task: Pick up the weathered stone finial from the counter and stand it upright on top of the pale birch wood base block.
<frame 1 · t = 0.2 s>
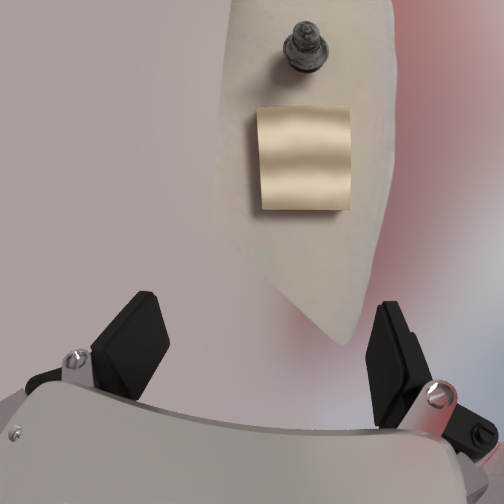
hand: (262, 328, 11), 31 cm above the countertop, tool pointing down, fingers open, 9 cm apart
birch base block: (305, 156, 36), on the countertop
weathered stone finial: (305, 56, 30), on the countertop
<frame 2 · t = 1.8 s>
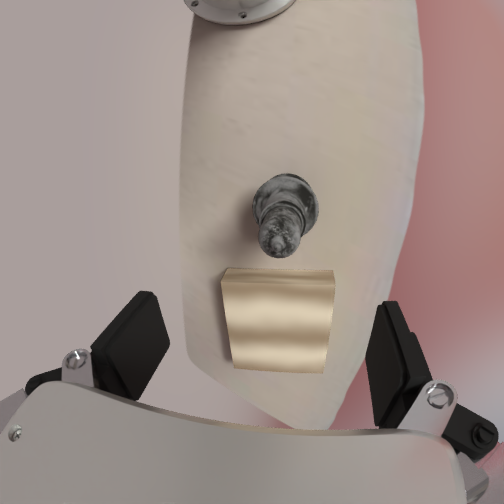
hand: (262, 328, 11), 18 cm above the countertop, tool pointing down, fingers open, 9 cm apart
birch base block: (280, 318, 34), on the countertop
weathered stone finial: (287, 198, 27), on the countertop
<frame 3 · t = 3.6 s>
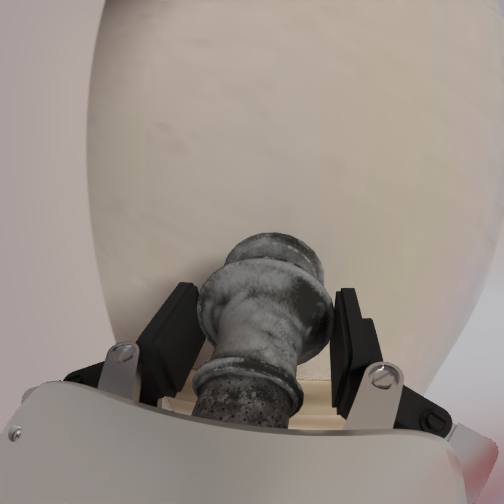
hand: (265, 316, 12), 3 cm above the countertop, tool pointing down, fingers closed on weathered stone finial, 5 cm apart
birch base block: (263, 424, 21), on the countertop
weathered stone finial: (273, 278, 14), on the countertop, touching gripper
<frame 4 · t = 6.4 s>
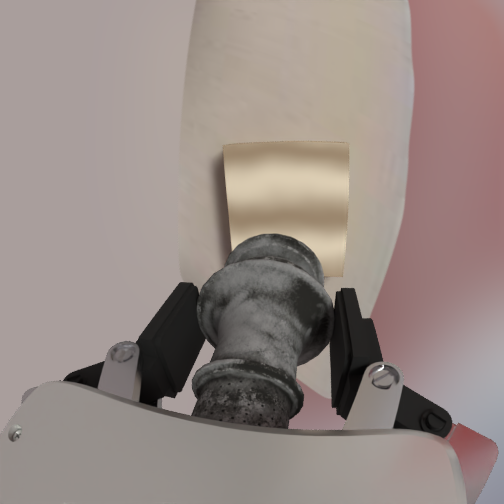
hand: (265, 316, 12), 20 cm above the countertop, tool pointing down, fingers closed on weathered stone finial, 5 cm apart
birch base block: (289, 205, 29), on the countertop
weathered stone finial: (273, 279, 14), point 17 cm above the countertop, touching gripper
when the fingers open (7 cm above the countertop, at t = 9.2 s): weathered stone finial drops 1 cm, resting on birch base block.
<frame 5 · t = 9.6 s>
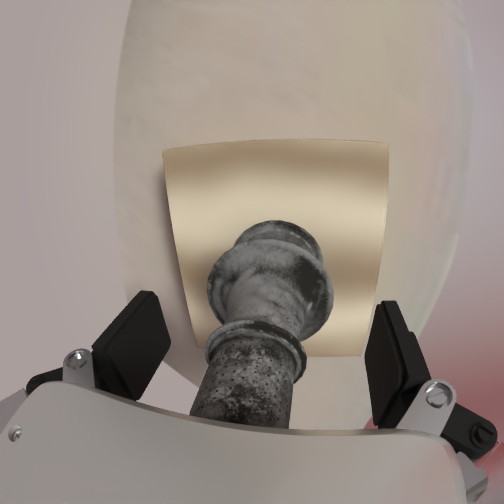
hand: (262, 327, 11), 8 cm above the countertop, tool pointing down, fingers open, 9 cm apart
birch base block: (280, 246, 18), on the countertop
weathered stone finial: (277, 263, 16), point 3 cm above the countertop, touching birch base block
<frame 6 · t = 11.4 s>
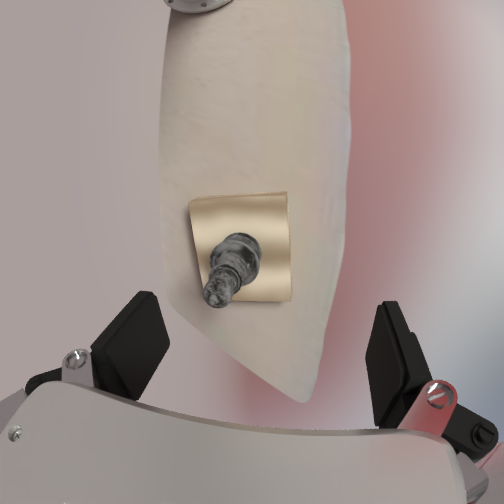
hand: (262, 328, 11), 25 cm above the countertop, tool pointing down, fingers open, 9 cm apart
birch base block: (245, 245, 37), on the countertop
weathered stone finial: (241, 251, 35), point 3 cm above the countertop, touching birch base block
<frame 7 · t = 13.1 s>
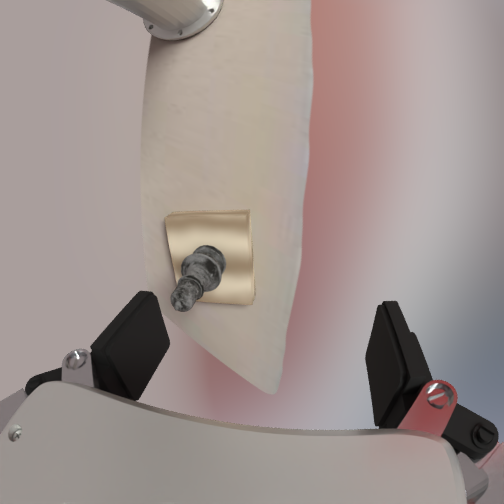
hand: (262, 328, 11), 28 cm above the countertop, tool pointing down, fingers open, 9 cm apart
birch base block: (214, 254, 42), on the countertop
weathered stone finial: (209, 261, 40), point 3 cm above the countertop, touching birch base block
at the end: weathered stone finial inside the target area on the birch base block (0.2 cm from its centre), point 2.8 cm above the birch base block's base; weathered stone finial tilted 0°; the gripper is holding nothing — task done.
